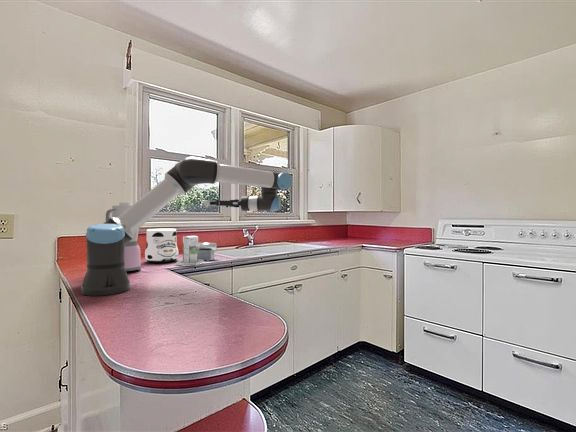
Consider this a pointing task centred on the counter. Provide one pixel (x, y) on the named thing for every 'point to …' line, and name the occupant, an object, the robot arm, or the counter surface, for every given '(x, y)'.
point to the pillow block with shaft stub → (206, 251)
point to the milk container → (161, 245)
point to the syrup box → (190, 249)
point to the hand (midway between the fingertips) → (208, 203)
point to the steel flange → (190, 263)
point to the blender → (132, 246)
